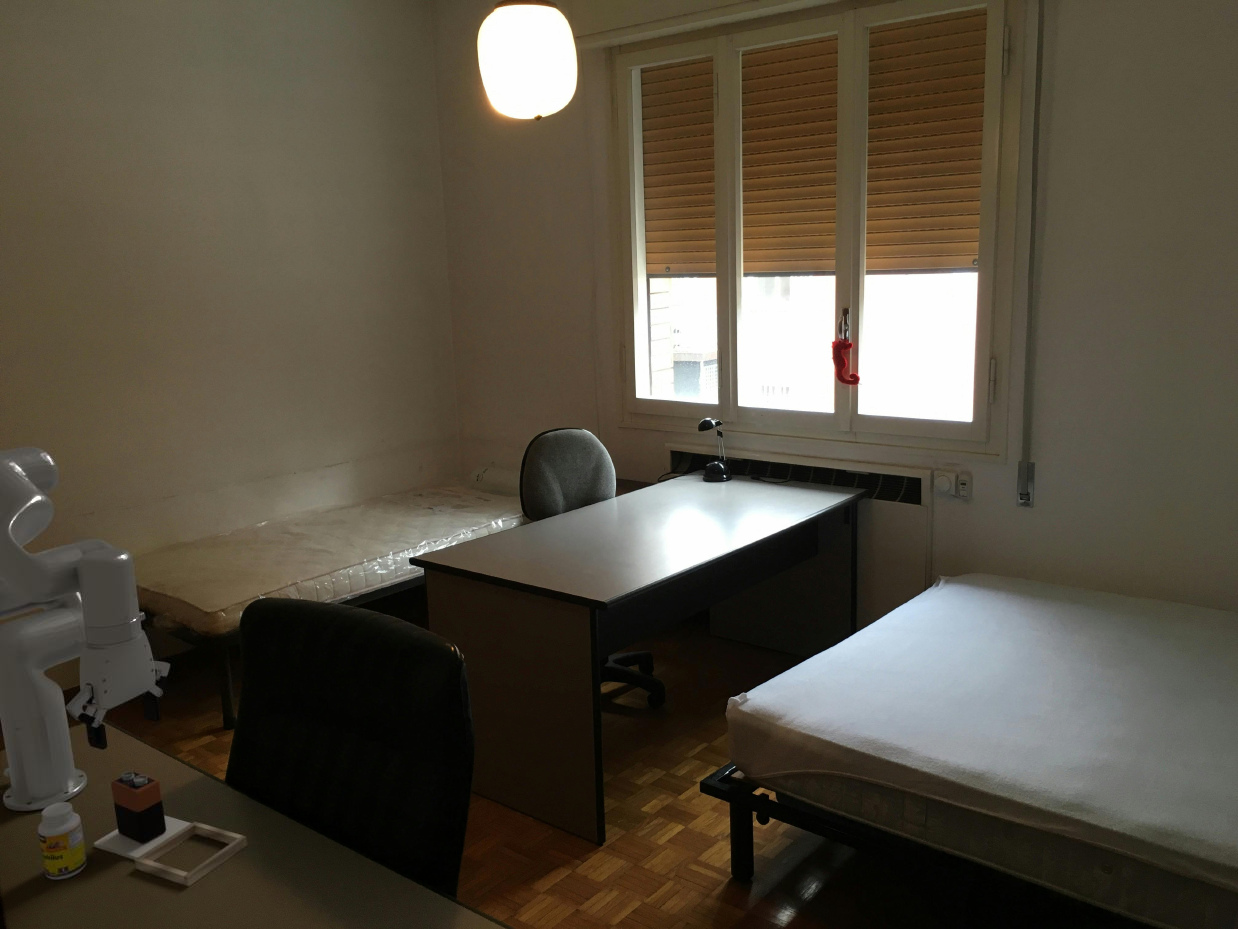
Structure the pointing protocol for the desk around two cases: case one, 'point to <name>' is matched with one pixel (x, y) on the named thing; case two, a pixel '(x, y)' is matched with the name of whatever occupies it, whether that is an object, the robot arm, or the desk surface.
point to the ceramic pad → (135, 849)
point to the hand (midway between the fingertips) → (126, 733)
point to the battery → (138, 806)
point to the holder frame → (188, 879)
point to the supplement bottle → (61, 841)
